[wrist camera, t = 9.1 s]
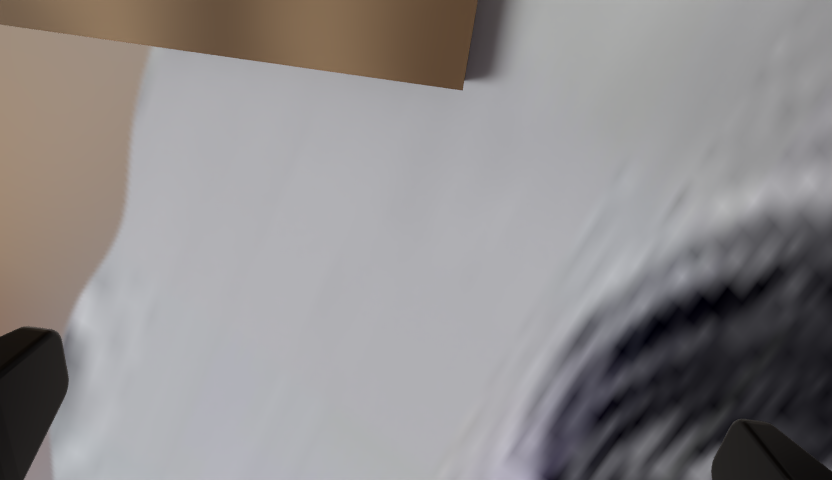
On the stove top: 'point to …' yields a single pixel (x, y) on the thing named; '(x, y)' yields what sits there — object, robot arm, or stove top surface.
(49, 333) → the robot arm
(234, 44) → the holder board
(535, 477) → the stove top surface
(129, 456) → the stove top surface
